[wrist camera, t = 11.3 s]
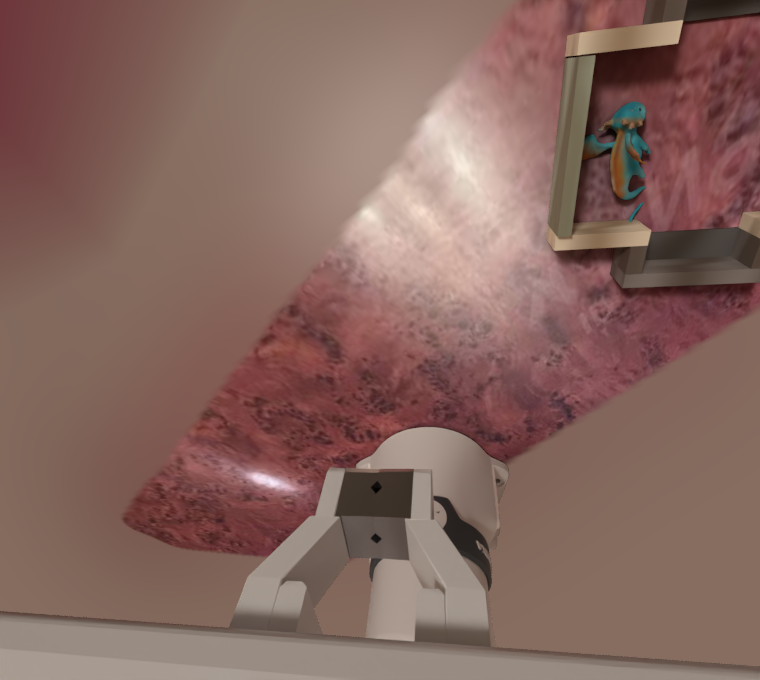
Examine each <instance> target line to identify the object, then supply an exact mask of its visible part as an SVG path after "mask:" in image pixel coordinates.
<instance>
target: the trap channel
mask: <svg viewBox="0 0 760 680" xmlns="http://www.w3.org/2000/svg"><path fill="white" fill-rule="evenodd" d="M752 13H760V0H647V2H646V8H645V14H644V19H643V25H638V26H630V27H622V28H614V29H606V30H598V31H590V32H581V33H577V34H573V35H569V36H567V44H566V54H565V57H567V56H576V55H585V54H593V53H602V52H610V51H619V50H628V49H636V48H645V47H654V46H662V45H671V44H678V42H679V37H680V33H681V28H682V23H683V22H686V21H694V20H703V19H711V18H719V17H727V16H735V15H743V14H752ZM595 57H596V55H591V56H582V57H573V58H565V63H564V73H563V82H562V92H561V101H560V111H559V120H558V130H557V139H556V149H555V158H554V168H553V177H552V187H551V196H550V206H549V215H548V225H547V234H546V239H547V241H548V242H549V244H550V245H551V247H552V248H553V250H554V251H559V250H577V249H595V248H613V247H615V251H614V256H613V261H612V266H611V271H610V274H611V276H612V277H613V278H614V279H615V280H616V281H617V283H618V284H619V285H620V286H621V287H622V288H640V287H663V286H687V285H711V284H735V283H759V282H760V211H759V212H743V214H742V217H741V220H740V223H739V226H738V227H734V228H717V229H700V230H683V231H666V232H651V230H650V229H649V228H647V227H646V226H644V225H643V224H642V223H640V222H639V221H638V220H636V219H632V222H629V220H616V221H600V222H584V223H573V218H574V211H575V204H576V196H577V189H578V182H579V174H580V167H581V160H582V152H583V145H584V138H585V130H586V123H587V116H588V108H589V101H590V94H591V86H592V79H593V72H594V64H595Z"/></svg>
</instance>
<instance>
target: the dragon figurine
mask: <svg viewBox="0 0 760 680" xmlns="http://www.w3.org/2000/svg"><path fill="white" fill-rule="evenodd" d="M645 117H646V108H645V106H644V105H643V104H642V103H640V102H631V103H628V104H626V105H624V106H623V107H621V108H620V109H619V110H618V111H617V112H616V113H615V114H614V116H613V117H612V119H611V120H608V122H604V123H605V124H604V125H603V126H602V127H601V129H599V130H598V131H604V130H606V129H608V128H611V129H613V130H614V131H615V132H616V133H617V138H616V140H615V142H611V143H605V144H601V143H599V142H598V141H597V140H596V138H595V136H594V135H593V134H592V135H589V136H587V137H586V138H584V145H583V152H582V160H586V159H589V158H592V157H597V155H598V154H600V153H602V152H604V151H605V150H607V149H609V148H612V152H611V155H610V160H609V166H610V173H611V183H612V187H613V191H614V192H615V194H616V195H617V196H618V197H619V198H621V199H623V200H629V199H632V198H634V197H635V196H637V195H638V194H639V193H640V192H641V191H642V190H643V189H645V188H646V187H644V186H642V187H639V188H637V189H636V190H634V191H632V192H629V191H628V186H629V182H630V179H631V177H632V175H638V176H639V177H640V178H645V176H646V175H645V173H644V171H643V170H642V168H641V167H640V165H639V162H640V163H644V162H642V160H641V157H642V150H643V151H645V152H646V153H647V154H650V149H649V147H648V145H647V144H646V143H645V142H644V141H643V140H642V138H641V137H640V136H639V135H638V134H637V131H636V129H637V127H640V126H642V125H643V124H642V122H643V121H644V119H645ZM644 164H646V163H644ZM642 205H643V203H641V204H640V205H639V206H638V207H637V208H636V210H635V211H634V212H633V214H632V215H631V217H630V219H629V222H632V219H633V217H634V215H635V214H636V213H637V211H638V210H639V209H640V207H641V206H642Z"/></svg>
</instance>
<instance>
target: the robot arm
mask: <svg viewBox="0 0 760 680" xmlns="http://www.w3.org/2000/svg"><path fill="white" fill-rule="evenodd" d="M508 478H509V468H508V466H507V465H506V464H504V463H502V462H500V461H498V460H496V459H494V458H492V457H490V456H489V455H488V454H486V453H485V451H484V450H483V449H482V448H481V447H480V446H479V445H478V444H477V443H476V442H474V441H473V440H472V439H470V438H468V437H467V436H465V435H463V434H460V433H458V432H455V431H452V430H448V429H444V428H436V427H420V428H413V429H408V430H405V431H402V432H399V433H397V434H395V435H393V436H391V437H390V438H388V439H387V440H386V441H384V442H383V443H382V444H381V445H380V447H379V448H378V449H377V450H376V452H375V453H374V454H373V455H372V456H369V457H367V458H365V459H363V460H362V461H360V462H359V463H357V465H356V468H329V470H328V472H327V474H326V478H325V482H324V486H323V489H322V493H321V497H320V500H319V504H318V508H317V511H316V515H315V516H310V517H309V518H308V519H307V520H306V521H305V522H304V523H302V524H301V525H300V526H299V527H298V528H297V529H296V530H295V531H294V532H293V533H292V534H291V535H290V536H289V537H288V538H287V539H286V540H285V541H284V542H283V543H282V544H281V545H280V546H279V547H278V548H277V549H276V550H275V551H274V552H273V553H272V554H271V555H270V556H269V557H268V558H267V559H266V560H265V561H264V562H263V563H262V564H261V565H260V566H258V568H257V569H255V570H254V571H253V572H252V573H251V574H250V575H249V576H248V578H247V581H246V583H245V586H244V589H243V591H242V594H241V597H240V599H239V602H238V605H237V608H236V610H235V613H234V615H233V618H232V621H231V623H230V626H229V628H224V627H209V626H197V625H183V624H169V623H155V622H142V621H128V620H115V619H100V618H87V617H74V616H60V615H47V614H46V615H45V614H32V613H19V612H5V611H0V680H760V666H747V665H733V664H719V663H706V662H705V663H704V662H692V661H691V662H690V661H677V660H664V659H663V660H662V659H650V658H637V657H623V656H609V655H595V654H581V653H568V652H554V651H539V650H527V649H513V648H499V647H496V643H495V636H494V630H493V624H492V617H491V610H490V601H489V593H488V592H489V590H490V588H491V583H492V579H491V571H492V566H491V558H490V555H489V549H493V550H494V549H496V547H497V536H498V535H499V533H500V518H499V508H498V504H499V501H500V499H501V496H502V493H503V491H504V489H505V486H506V483H507V481H508ZM349 558H370V560H369V561H370V578H371V581H372V590H371V598H370V606H369V614H368V622H367V630H366V638H363V637H348V636H335V635H323V634H322V631H321V628H320V625H319V622H318V619H317V616H316V614H315V610H314V608H315V607H316V605H317V604H318V602H319V601H320V600H321V598H322V597H323V596H324V594H325V593H326V591H327V590H328V589H329V588H330V586H331V585H332V583H333V582H334V581H335V579H336V578H337V577H338V575H339V574H340V572H341V571H342V570H343V569H344V567H345V566H346V564H347V563H348V562H349V560H350V559H349Z"/></svg>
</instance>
